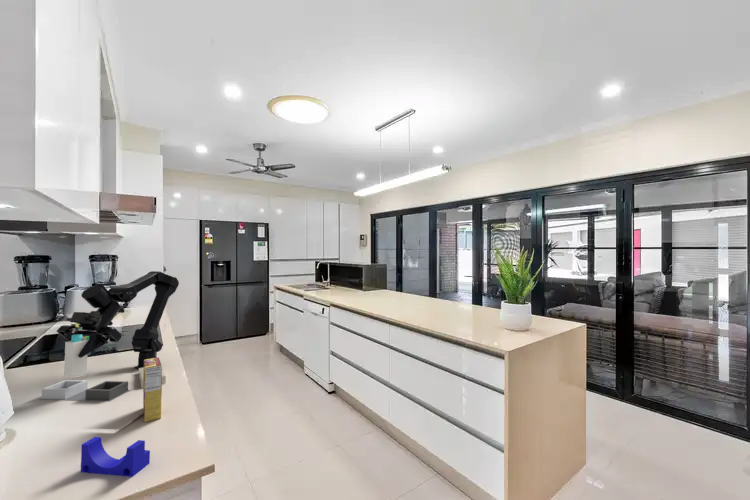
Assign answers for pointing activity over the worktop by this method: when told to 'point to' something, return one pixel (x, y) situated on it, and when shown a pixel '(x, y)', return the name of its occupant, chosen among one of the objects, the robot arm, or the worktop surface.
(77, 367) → the plug
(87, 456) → the blue cradle bracket
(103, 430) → the worktop surface
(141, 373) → the electrical outlet
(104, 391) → the grey long flat tray
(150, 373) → the candy box
